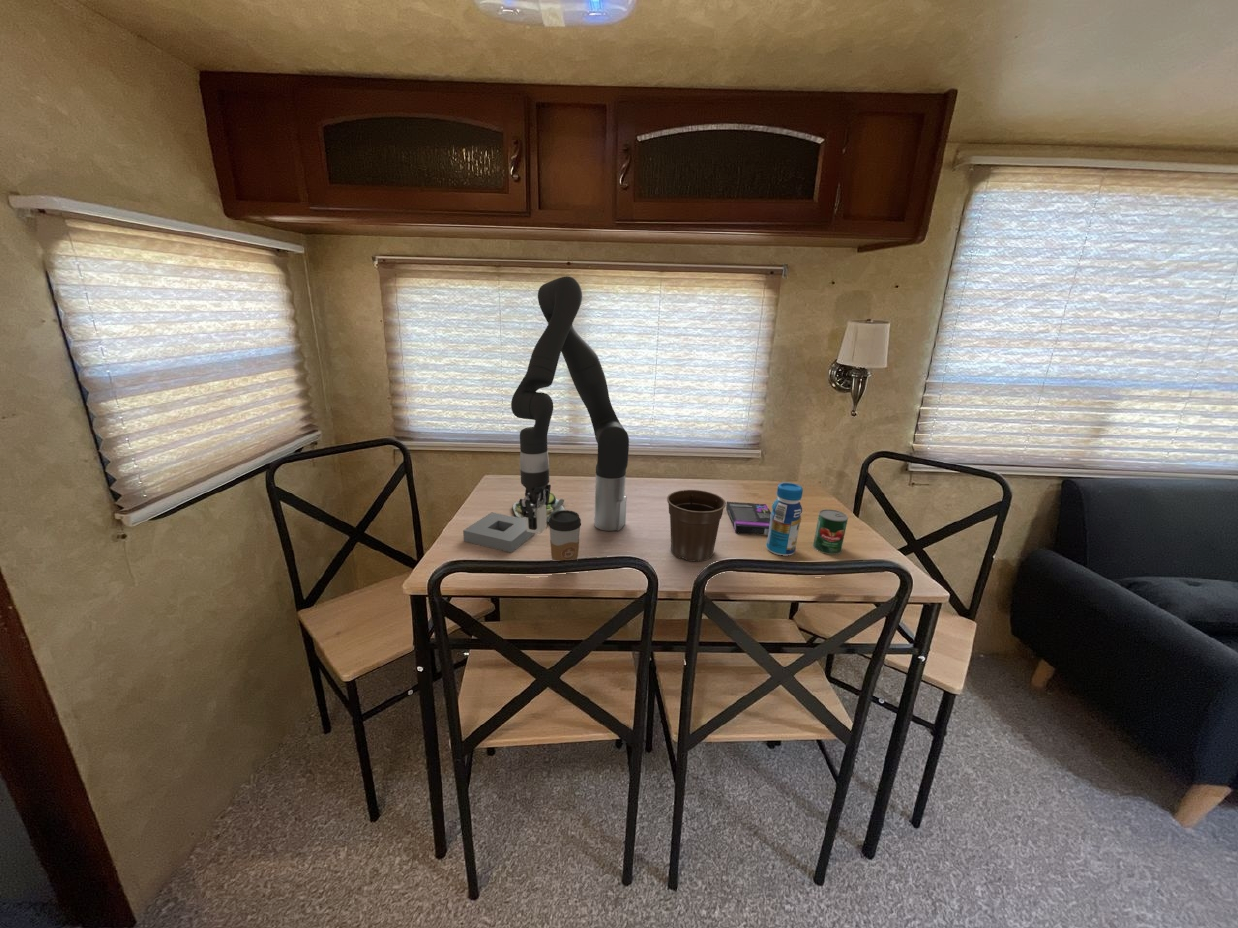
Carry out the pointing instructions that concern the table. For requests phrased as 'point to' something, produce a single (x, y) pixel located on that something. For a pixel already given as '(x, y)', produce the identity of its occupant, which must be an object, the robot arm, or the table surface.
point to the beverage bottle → (785, 520)
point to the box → (749, 517)
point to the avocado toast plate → (551, 508)
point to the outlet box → (498, 532)
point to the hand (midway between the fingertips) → (536, 525)
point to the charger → (539, 520)
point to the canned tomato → (830, 531)
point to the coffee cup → (564, 534)
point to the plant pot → (694, 523)
